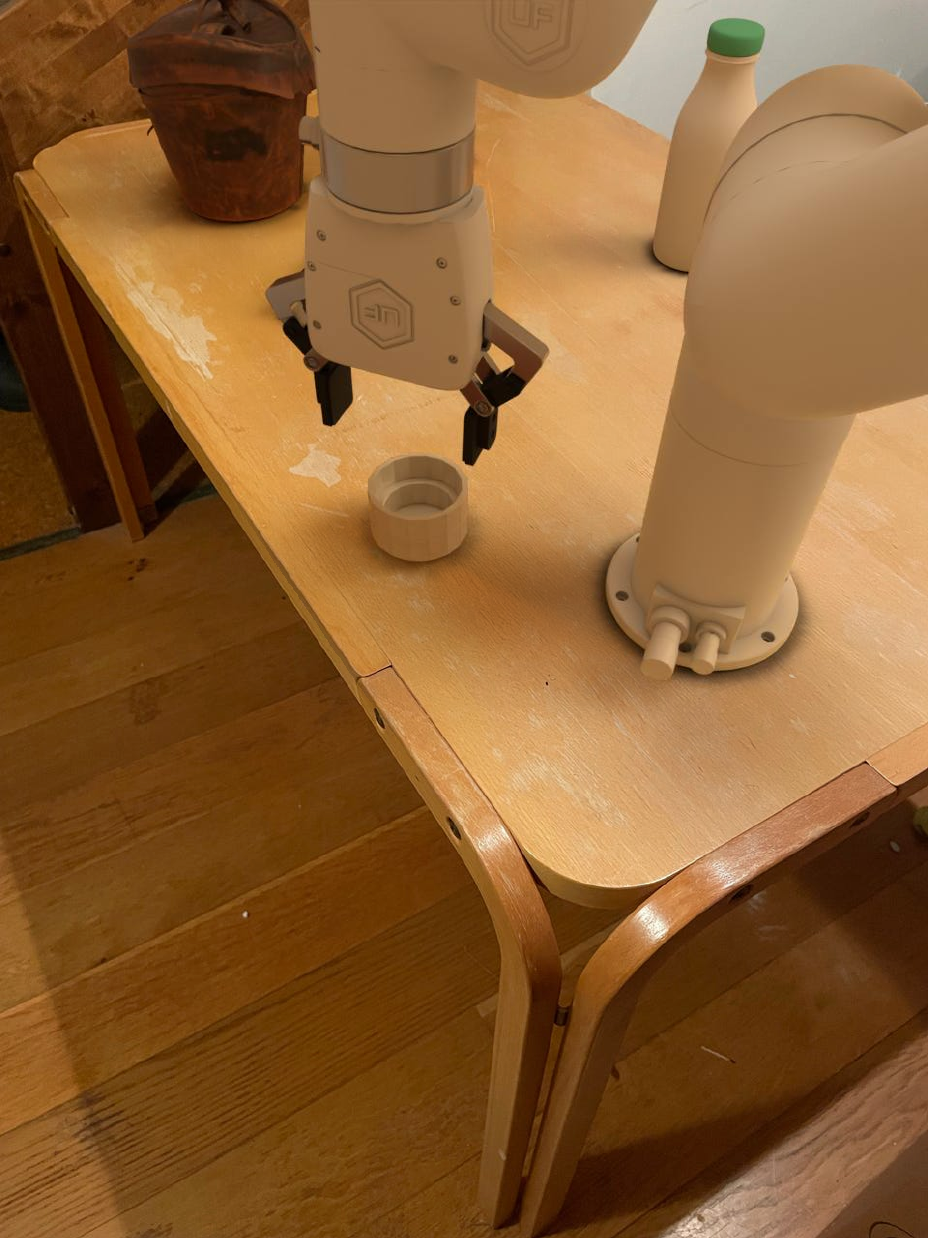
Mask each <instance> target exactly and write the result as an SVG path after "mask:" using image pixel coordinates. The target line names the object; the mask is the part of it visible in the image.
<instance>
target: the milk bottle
mask: <svg viewBox="0 0 928 1238" xmlns="http://www.w3.org/2000/svg"><path fill="white" fill-rule="evenodd" d="M765 35H766V29H765V27H764V26H763V25H762V24H761V23H759V22H757V21H755V20H750V19H747V18H741V17H740V18H739V17H738V18H737V17H728V18H727V17H726V18H721V19H717V20H714V21H713V22H712V23H711V24H710V26H709V28H708V31H707V37H706V46H705V47H706V48H705V50H704V54H705V63H704V66H703V69H702V71H701V72H700V75H699V77H698V78H697V82H696V83H695V85H694V87H693V89H692V90H691V92H690V94H689V95H688V96H687V98H686V100H685V101H684V103H683V105H682V107H681V109H680V110H679V113H678V115H677V118H676V121H675V125H674V127H673V131H672V136H671V141H670V145H669V149H668V150H669V151H668V156H667V160H666V166H665V171H664V176H663V182H662V188H661V193H660V200H659V205H658V210H657V217H656V221H655V222H656V223H655V228H654V234H653V241H652V250H653V254H654V256H655V258H656V259H657V260H658V261H659V262H661V263H662V264H663V265H664V266H667V267H669V268H671V269H674V270H677V271H682V272H688V273H689V270H690V266H691V262H692V259H693V256H694V253H695V250H696V246H697V243H698V240H699V237H700V234H701V231H702V228H703V223H704V218H705V214H706V211H707V208H708V205H709V201H710V198H711V195H712V192H713V189H714V185H715V182H716V179H717V176H718V173H719V170H720V167H721V165H722V162H723V160H724V157H725V155H726V153H727V151H728V149H729V147H730V145H731V143H732V141H733V139H734V138H735V136H736V135H737V133H738V131H739V130H740V128H741V127H742V126H743V124H744V123H745V122H746V120H747V119H748V118H749V117H750V115H751V114H752V113H753V112H754V111H755V110H756V108H757V107H758V106H759V105H758V102H757V101H758V100H757V96H756V88H755V67H756V62H757V61H758V60H759V59H760V58H761V50H762V48H763V44H764V40H765Z"/></svg>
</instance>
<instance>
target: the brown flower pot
mask: <svg viewBox="0 0 928 1238" xmlns="http://www.w3.org/2000/svg"><path fill="white" fill-rule="evenodd" d="M125 48H126V49H125V50H126V52H127V53H126V54H127V61H128V75H129V76H128V77H129V83H130V85H131V87H132V88H135V89H137V92H138V95H139V96H140V98H141V101H142V103H143V105H144V107H145V109H146V113H147V115H148V118H149V120H150V123H151V125H150V127H149V128H148V129H147V131H146V136H147V137H149V134H150V133H151V132H152V130H154V132H155V135H156V137H157V140H158V143H159V146H160V148H161V150H162V152H163V154H164V156H165V159H166V161H167V163H168V166H169V169H170V171H171V173H172V175H173V179H174V180H175V182H176V185H177V187H178V190H179V192H180V194H181V197H182V199H183V201H184V203H185V205H186V206H187V208H188V209H189V210H190V211H191V212H193V213H194V214H197V215H198V216H201V217H203V218H206V219H210V220H214V221H218V222H219V221H220V222H248V221H255V220H260V219H264V218H268V217H272V216H274V215H276V214H277V215H278V214H279V213H282V212H284V211H285V210H287V209H288V208H289V209H290V207H292V205H294V204H295V203H296V202H297V201H298V200H299V199H300V198H302V196H303V195H304V191H305V188H304V164H305V163H304V161H305V159H304V158H305V146H306V145H303V144H302V143H301V141H300V139H299V125H300V121H301V119H302V118H303V117H304V116H307V114H308V113H307V111H308V96H309V95H312V92H313V91H315V90H316V89H317V88H316V77H315V66H314V58H313V57H312V54H311V51H310V48H309V46H308V44H307V42H306V40H305V37H304V35H303V33H302V30H301V28H300V26H299V24H298V23H297V21H296V19H295V18H294V17H293V15H292V14H291V13H290V12H289V11H288V10H287V9H286V8H285V7H284V6H282V5H281V4H279V3H277V2H276V1H274V0H190V1H187V2H185V3H183V4H181V5H180V6H178V7H176V8H174V9H172V10H170V11H168V12H166V13H164V14H163V15H161V16H160V17H158V18H157V19H155V20H154V21H153V22H152V23H150V24H149V25H148V26H146V27H144V28H143V29H142V30H139V32H137V33H136V34H135V35H133V36H131V37H128V38H127V40H126V42H125Z"/></svg>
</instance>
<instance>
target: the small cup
mask: <svg viewBox="0 0 928 1238" xmlns="http://www.w3.org/2000/svg"><path fill="white" fill-rule="evenodd" d="M366 493H367V501H368V510H369V519H370V521H369V522H370V530H371V535H372V537H373V539H374V541H375V543H376V545H377V546H378V547H379V548H380V549H382V551H384V552H385V553H387V554H388V555H389V556H392V557H394V558H397V559H401V560H404V561H407V562H430V561H433V560H437V559H441V558H443V557H446V556H448V555H450V554H451V553H452V552H453V551H455V550H456V549H458V548H459V547H461V545H462V543H463V542H464V539H465V538H466V536H467V534H468V530H469V529H468V526H469V525H468V522H469V521H468V520H469V517H468V515H469V512H468V511H469V484H468V477H467V475H466V474H465V472H464V471H463V469H462V467H461V466H460V465H459V464H457V463H456V462H454V461H453V460H452V459H449V458H448V457H446V456H443V455H439V454H435V453H431V452H407V453H403V454H400V455H396V456H392V457H389V458H388V459H387V460H385V461H383V462H382V463H381V464H379V465H378V466H376V467H375V468H374V470H373V471H372V473H371V475H370V476H369V478H368V480H367V491H366Z"/></svg>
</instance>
